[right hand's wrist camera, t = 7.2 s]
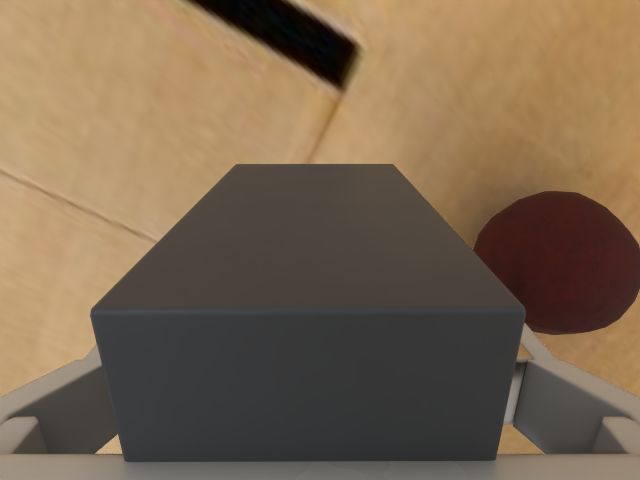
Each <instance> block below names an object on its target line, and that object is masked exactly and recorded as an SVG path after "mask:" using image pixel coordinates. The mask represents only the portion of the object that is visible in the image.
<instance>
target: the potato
mask: <svg viewBox="0 0 640 480" xmlns="http://www.w3.org/2000/svg"><path fill="white" fill-rule="evenodd" d="M473 252H474V253H475V254H476V255H477V256H478V257H479V258H480V259H481V260H482V261H483V262H484V264H485V265H486V266H487V267H488V268H489V269H490V270H491V271H492V272H493V273H494V274H495V275H496V277H497V278H498V279H499V280H500V281H501V282H502V283H503V284H504V285H505V286H506V287H507V289H508V290H509V291H510V292H511V293H512V294H513V295H514V296H515V297H516V298H517V299H518V300H519V302H520V303H521V304H522V305H523V306H524V307H525V310H526V317H525V322H524V323H526V325H527V326H528V327H529V328H530V329H531V330H532V331H533V332H539V333H545V334H551V335H560V334H576V333H584V332H590V331H594V330H597V329H601V328H605V327H607V326H608V325H610V324H612V323H613V322H615V321H617V320H618V319H620V317H621V316H622V315H623V314H624V313H625V312H626V311H627V310H628V308H629V307H630V306H631V305H632V303H633V302H634V301H635V299H636V297H637V294H638V292H639V289H640V248H639V244H638V243H637V241H636V240H635V238H634V237H633V236H632V234H631V233H630V231H629V230H628V229H627V228H626V227H625V226H624V225H623V224H622V222H621V221H620V220H619V219H618V218H617V217H616V216H615V215H614V214H612V213H611V212H610V211H609V210H608V209H607V208H606V207H604V206H602V205H601V204H599V203H597V202H596V201H594V200H592V199H590V198H588V197H585V196H583V195H581V194H579V193H573V192H558V191H546V192H542V193H539V194H535V195H532V196H529V197H526V198H523V199H519V200H518V201H516V202H515V203H513V204H512V205H510V206H509V207H507V208H506V209H504V210H503V211H501V212H500V213H498V214H497V215H495V216H494V217H492V218H491V219H490V221H489V222H488V223H487V224H486V226H485V227H484V228H483V229H482V231H481V232H480V233H479V235H478V238H477V241H476V244H475V247H474V249H473Z"/></svg>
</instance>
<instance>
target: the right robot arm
mask: <svg viewBox="0 0 640 480" xmlns="http://www.w3.org/2000/svg"><path fill="white" fill-rule="evenodd" d="M503 424H513V426H514V427H515V428H516V429H517V430H518V431H520V432H521V433H522V434H523V435H524V436H525V437H527V438H528V439H529V440H530V441H531V442H533V443H534V444H535V445H536V446H537V447H539V448H540V449H541V450H542V451H543V452H544V453H546V454H497V455H496V460H493V461H299V462H127V461H124V457H123V454H95V453H96V452H97V451H98V450H99V449H100V448H102V447H103V446H104V445H105V444H106V443H108V442H109V441H110V440H111V439H112V438H114V437H115V436H116V435H117V434H118V431H117V427H116V423H115V418H114V414H113V410H112V406H111V401H110V397H109V393H108V389H107V384H106V380H105V376H104V372H103V367H102V363H101V359H100V355H99V350H98V346H97V344H96V345H95V347H94V348H93V349H92V350H91V351H90V352H89V354H88V355H87V356H86V357H85V358H84V359H83V360H75V361H73V362H71V363H69V364H67V365H65V366H63V367H61V368H59V369H57V370H55V371H53V372H51V373H49V374H47V375H45V376H43V377H41V378H38V379H36V380H34V381H32V382H30V383H28V384H26V385H24V386H22V387H20V388H18V389H16V390H14V391H12V392H10V393H8V394H6V395H4V396H2V397H0V480H640V397H638V396H636V395H634V394H632V393H630V392H628V391H626V390H624V389H622V388H620V387H618V386H616V385H614V384H612V383H610V382H608V381H606V380H604V379H601V378H599V377H597V376H595V375H593V374H591V373H589V372H587V371H585V370H583V369H581V368H579V367H577V366H575V365H573V364H571V363H569V362H567V361H565V360H557V359H556V358H555V357H554V356H553V355H552V354H551V352H550V351H549V350H548V349H547V348H546V347H545V345H544V344H543V343H542V342H541V341H540V340H539V339H538V337H537V336H536V335H535V334H534V333H533V332H532V330H531V329H530V328H529V327H528V326H527V325H526V323H524V327H523V331H522V336H521V341H520V346H519V350H518V355H517V360H516V365H515V369H514V374H513V379H512V384H511V388H510V393H509V398H508V403H507V408H506V412H505V417H504V422H503Z"/></svg>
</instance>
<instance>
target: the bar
mask: <svg viewBox="0 0 640 480" xmlns="http://www.w3.org/2000/svg"><path fill="white" fill-rule="evenodd" d="M90 317H91V321H92V325H93V329H94V334H95V338H96V342H97V346H98V350H99V355H100V359H101V363H102V367H103V372H104V376H105V380H106V384H107V389H108V393H109V397H110V401H111V406H112V410H113V414H114V418H115V423H116V427H117V431H118V435H119V440H120V444H121V448H122V452H123V457H124V461H127V462H299V461H493V460H496V455H497V450H498V446H499V441H500V436H501V431H502V427H503V422H504V417H505V412H506V408H507V403H508V398H509V393H510V388H511V384H512V379H513V374H514V369H515V365H516V360H517V355H518V350H519V346H520V341H521V336H522V331H523V327H524V322H525V317H526V310H525V307H524V306H523V305H522V304H521V303H520V302H519V300H518V299H517V298H516V297H515V296H514V295H513V294H512V293H511V292H510V291H509V290H508V289H507V287H506V286H505V285H504V284H503V283H502V282H501V281H500V280H499V279H498V278H497V277H496V275H495V274H494V273H493V272H492V271H491V270H490V269H489V268H488V267H487V266H486V265H485V264H484V262H483V261H482V260H481V259H480V258H479V257H478V256H477V255H476V254H475V253H474V252H473V250H472V249H471V248H470V247H469V246H468V245H467V244H466V243H465V242H464V241H463V240H462V239H461V237H460V236H459V235H458V234H457V233H456V232H455V231H454V230H453V229H452V228H451V227H450V225H449V224H448V223H447V222H446V221H445V220H444V219H443V218H442V217H441V216H440V215H439V214H438V212H437V211H436V210H435V209H434V208H433V207H432V206H431V205H430V204H429V203H428V202H427V200H426V199H425V198H424V197H423V196H422V195H421V194H420V193H419V192H418V191H417V190H416V189H415V187H414V186H413V185H412V184H411V183H410V182H409V181H408V180H407V179H406V178H405V177H404V175H403V174H402V173H401V172H400V171H399V170H398V169H397V168H396V167H395V166H394V165H393V164H237V165H235V166H234V167H233V168H232V169H231V170H230V171H229V172H228V173H227V174H226V175H225V176H224V177H223V178H222V179H221V180H220V181H219V182H218V183H217V184H216V185H215V186H214V187H213V188H212V189H211V190H210V191H209V192H208V193H207V194H206V195H205V196H204V197H203V198H202V199H201V200H200V201H199V202H198V203H197V204H196V205H195V206H194V207H193V208H192V209H191V210H190V211H189V212H188V213H187V214H186V215H185V216H184V217H183V218H182V219H181V220H180V221H179V222H178V223H177V224H176V225H175V226H174V227H173V228H172V229H171V230H170V231H169V232H168V233H167V234H166V235H165V236H164V237H163V238H162V239H161V240H160V241H159V242H158V243H157V244H156V245H155V246H154V247H153V248H152V249H151V250H150V251H149V252H148V253H147V254H146V255H145V256H144V257H143V258H142V259H141V260H140V261H139V262H138V263H137V264H136V265H135V266H134V267H133V268H132V269H131V270H130V271H129V272H128V273H127V274H126V275H125V276H124V277H123V278H122V279H121V280H120V281H119V282H118V283H117V284H116V285H115V286H114V287H113V288H112V289H111V290H110V291H109V292H108V293H107V294H106V295H105V296H104V297H103V298H102V299H101V300H100V301H99V302H98V303H97V304H96V305H95V306H94V307H93V308H92V310H91V314H90Z"/></svg>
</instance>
